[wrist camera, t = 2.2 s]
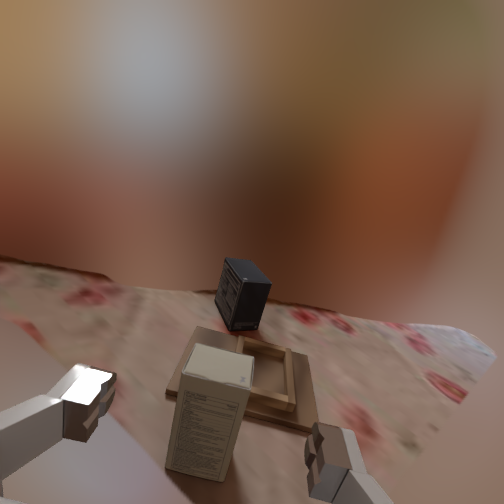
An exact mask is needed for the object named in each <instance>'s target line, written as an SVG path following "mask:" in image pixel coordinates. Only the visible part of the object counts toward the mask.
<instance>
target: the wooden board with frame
mask: <svg viewBox="0 0 504 504" xmlns="http://www.w3.org/2000/svg"><path fill="white" fill-rule="evenodd" d="M195 343H200V344H204V345H209V346H213V347H218V348H222V349H226V350H230V351H234V352H238V353H242V354H245V355H249V356H253V357H254V370H253V379H252V386H251V392H250V395H249V398H248V401H247V405H246V408H245V412H244V415H247V416H250V417H254V418H258V419H261V420H265V421H269V422H273V423H276V424H280V425H284V426H287V427H291V428H295V429H298V430H302V431H306V432H310V433H312V429H311V428H312V426H313V423H315V422H318V416H317V410H316V404H315V398H314V392H313V386H312V381H311V375H310V369H309V363H308V357H307V355H303V354H299V353H296V352H292V351H291V349H289V348H285V347H281V346H278V345H274V344H270V343H266V342H263V341H259V340H255V339H252V338H248V337H244V336H241V335H239V337H236V336H233V335H229V334H225V333H222V332H218V331H214V330H210V329H207V328H203V327H199V326H197V327H196V329H195V331H194V333H193V335H192V337H191V339H190V341H189V343H188V345H187V347H186V349H185V352H184V354H183V356H182V358H181V360H180V362H179V364H178V366H177V368H176V370H175V372H174V374H173V376H172V378H171V380H170V382H169V384H168V386H167V388H166V393H165V394H169V395H173V396H176V397H177V395H178V390H179V384H180V378H181V372H182V369H183V367H184V365H185V363H186V361H187V359H188V357H189V355H190V353H191V351H192V349H193V347H194V345H195Z"/></svg>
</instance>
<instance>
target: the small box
mask: <svg viewBox="0 0 504 504" xmlns="http://www.w3.org/2000/svg"><path fill="white" fill-rule="evenodd" d="M271 285H272V283H271V282H270V280H269V279H268V278H267V277H266V276H265V275H264V274H263V273H262V272H261V271H260V270H259V269H258V267H257V266H255V264H254V263H253V262H252V261H251V260H243V259H234V258H227V257H226V258H225V261H224V266H223V271H222V275H221V278H220V282H219V286H218V290H217V294H216V297H215V303H216V305H217V307H218V309H219V311H220V314H221V316H222V318H223V320H224V322H225V324H226V326H227V328H228V330H229V331H236V330H257V329H258V326H259V323H260V320H261V316H262V313H263V310H264V307H265V304H266V301H267V297H268V294H269V291H270V288H271Z"/></svg>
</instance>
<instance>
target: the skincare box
mask: <svg viewBox="0 0 504 504" xmlns="http://www.w3.org/2000/svg"><path fill="white" fill-rule="evenodd" d="M253 370H254V357H253V356H249V355H245V354H242V353H238V352H234V351H230V350H226V349H222V348H218V347H213V346H209V345H204V344H200V343H195V345H194V347H193V349H192V351H191V353H190V355H189V357H188V359H187V361H186V363H185V365H184V367H183V369H182V372H181V378H180V384H179V390H178V395H177V401H176V407H175V412H174V418H173V423H172V429H171V435H170V440H169V445H168V452H167V457H166V463H165V467H166V468H167V469H170V470H174V471H177V472H181V473H185V474H189V475H193V476H197V477H201V478H205V479H210V480H215V481H219V482H224V480H225V477H226V474H227V470H228V467H229V463H230V460H231V456H232V453H233V450H234V446H235V443H236V439H237V436H238V432H239V429H240V426H241V422H242V419H243V415H244V412H245V408H246V405H247V401H248V398H249V395H250V392H251V386H252V379H253Z"/></svg>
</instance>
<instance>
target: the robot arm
mask: <svg viewBox="0 0 504 504" xmlns="http://www.w3.org/2000/svg"><path fill="white" fill-rule="evenodd" d="M116 376H117V374H116V373H115V372H111V371H107V370H104V369H100V368H96V367H93V366H88V365H85V364H81V363H78V364H76V365H74V366H73V367H72V368H71V369H70V370H69V371H68V372H67V373H66V375H64V376H63V377H62V378H61V379H60V381H59V382H58V383H57V384H56V385H55V386H54V387H53V388H52V389H51V390H50V391H49V392H48V393H47V394H46V395H38V396H36V397H34V398H32V399H30V400H27V401H25V402H22V403H20V404H18V405H15V406H13V407H11V408H9V409H6V410H4V411H2V412H0V504H28V503H24V502H20V501H16V500H12V499H7V498H3V487H2V480H3V479H5V478H6V477H8V476H9V475H11V474H12V473H14V472H15V471H17V470H18V469H19V468H21V467H22V466H24V465H25V464H27V463H28V462H30V461H31V460H33V459H34V458H36V457H37V456H39V455H40V454H42V453H43V452H45V451H46V450H47V449H49V448H50V447H52V446H53V445H55V444H56V443H58V442H59V441H61V440H62V438H66V439H71V440H75V441H80V442H85V443H86V442H87V440H88V439H89V438H90V436H91V434H92V433H93V432H94V430H95V429H96V427H97V426H98V418H100V417H102V416H104V415H105V414H106V412H107V411H108V409H109V408H110V405H111V403H112V401H113V398H114V395H115V388H114V386H113V384H114V383H115V381H116ZM311 429H312V434H311V435H309V436H308V438H307V440H306V444H305V450H304V457H305V464H306V466H307V467H308V469H309V473H308V475H307V483H308V491H309V497H311V498H315V499H318V500H322V501H325V502H329V503H332V504H394V503H393V502H392V500H391V499H390V498H389V497H388V495H387V494H386V493H385V492H384V490H383V489H382V488H381V487H380V485H379V484H378V483H377V482H376V480H375V479H374V478H373V477H372V475H369V474H367V471H366V468H365V465H364V462H363V459H362V455H361V452H360V449H359V446H358V443H357V440H356V437H355V434H354V432H353V431H352V430H349V429H345V428H339V427H337V426H332V425H328V424H324V423H319V422H315V423H313V426H312V428H311Z"/></svg>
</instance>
